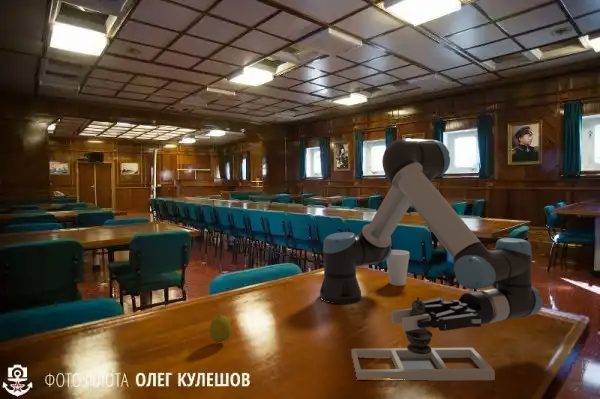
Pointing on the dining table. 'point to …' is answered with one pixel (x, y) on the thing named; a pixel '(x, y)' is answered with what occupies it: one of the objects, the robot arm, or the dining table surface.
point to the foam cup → (398, 267)
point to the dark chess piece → (418, 332)
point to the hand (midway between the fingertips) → (397, 321)
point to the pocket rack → (423, 364)
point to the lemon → (220, 328)
